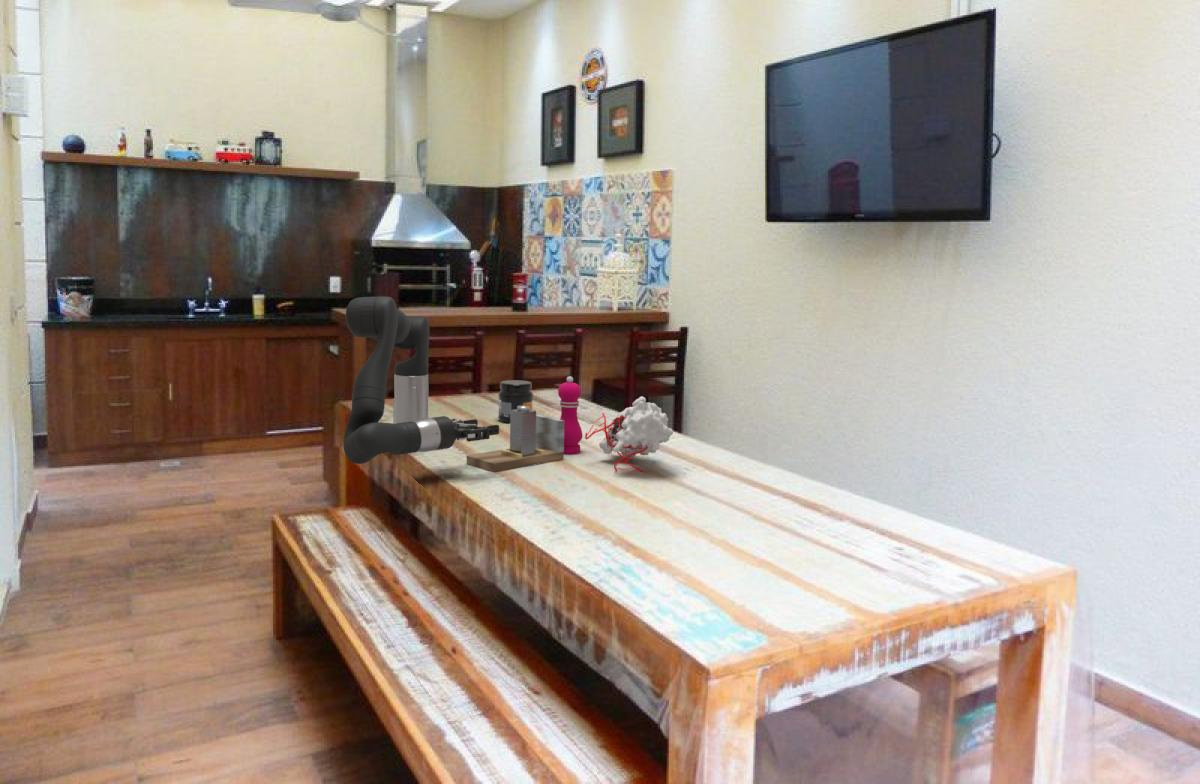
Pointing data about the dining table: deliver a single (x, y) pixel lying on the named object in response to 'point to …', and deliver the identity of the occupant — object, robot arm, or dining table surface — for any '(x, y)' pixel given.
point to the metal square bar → (523, 431)
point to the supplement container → (514, 397)
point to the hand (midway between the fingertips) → (487, 426)
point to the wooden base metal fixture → (546, 451)
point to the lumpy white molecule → (635, 431)
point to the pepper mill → (570, 415)
